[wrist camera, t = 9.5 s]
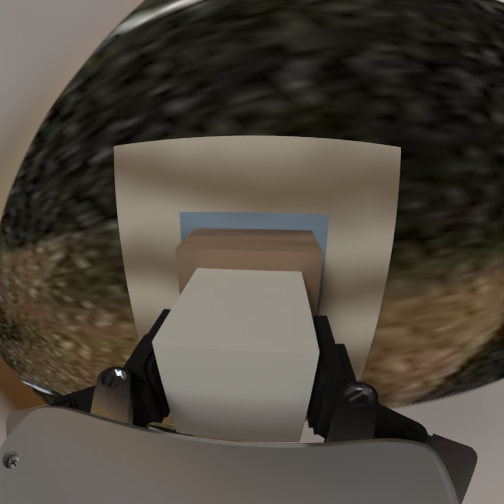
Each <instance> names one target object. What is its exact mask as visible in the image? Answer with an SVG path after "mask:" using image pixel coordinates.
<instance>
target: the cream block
mask: <svg viewBox="0 0 504 504" xmlns="http://www.w3.org/2000/svg"><path fill="white" fill-rule="evenodd" d="M152 344H153V348H154V353H155V357H156V361H157V365H158V369H159V373H160V377H161V380H162V384H163V388H164V391H165V395H166V398H167V402H168V405H169V408H170V412H171V415H172V418H173V421H174V424H175V427H176V430H177V432H178V433H183V434H190V435H196V436H204V437H212V438H220V439H231V440H244V441H262V442H263V441H264V442H299V441H300V438H301V434H302V430H303V426H304V422H305V418H306V414H307V409H308V405H309V401H310V396H311V392H312V387H313V382H314V378H315V373H316V368H317V363H318V357H319V347H318V343H317V338H316V333H315V328H314V324H313V319H312V315H311V310H310V306H309V301H308V297H307V293H306V288H305V284H304V280H303V276H302V272H295V271H261V270H232V269H206V268H197V269H196V271H195V272H194V274H193V275H192V277H191V279H190V280H189V282H188V283H187V285H186V287H185V288H184V290H183V291H182V293H181V295H180V296H179V298H178V300H177V301H176V303H175V304H174V306H173V308H172V309H171V311H170V313H169V314H168V316H167V317H166V319H165V321H164V322H163V324H162V326H161V327H160V329H159V331H158V332H157V334H156V336H155V337H154V339H153V341H152Z"/></svg>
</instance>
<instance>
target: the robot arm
mask: <svg viewBox="0 0 504 504" xmlns="http://www.w3.org/2000/svg"><path fill="white" fill-rule="evenodd" d="M170 311H171V309H164V310H163V311H162V312H161V314H160V316H159V317H158V319H157V320H156V322H155V323H154V325H153V326H152V328H151V329H150V331H149V332H148V334H145V335H144V336H143V338H142V339H141V341H140V342H139V344H138V345H137V347H136V348H135V350H134V352H133V353H132V355H131V356H130V358H129V359H128V361H127V363H126V364H125V366H124V367H123V368H122V367H110V368H107V369H105V370H103V371H102V372H101V373H100V374H99V375H98V378H97V381H96V385H95V386H92V387H89V388H86V389H83V390H80V391H76V392H73V393H70V394H67V395H64V396H61V397H59V398H57V399H55V400H54V401H53V403H52V404H51V406H48V405H43V406H39V407H34V408H30V409H25V410H21V411H16V412H13V413H11V414H10V415H9V416H8V418H7V422H6V430H7V439H6V440H5V441H4V443H3V444H2V446H1V448H0V504H462V501H463V499H464V496H465V494H466V491H467V489H468V486H469V484H470V481H471V478H472V475H473V472H474V469H475V466H476V463H477V454H476V452H475V451H474V449H473V448H471V447H469V446H466V445H463V444H460V443H457V442H455V441H452V440H449V439H446V438H443V437H441V436H438V435H436V434H433V436H430V435H428V433H427V431H426V429H425V428H424V427H423V425H421V424H420V423H418V422H416V421H414V420H412V419H410V418H408V417H405V416H403V415H401V414H399V413H397V412H395V411H393V410H391V409H389V408H387V407H385V406H383V405H381V404H379V403H378V393H377V392H376V390H375V389H374V388H373V387H372V386H370V385H368V384H366V383H362V382H357V381H356V377H355V374H354V371H353V368H352V365H351V362H350V359H349V356H348V353H347V350H346V347H345V344H343V343H342V344H335V340H334V337H333V334H332V330H331V327H330V324H329V320H328V317H327V315H314V318H313V324H314V328H315V333H316V338H317V343H318V347H319V357H318V363H317V368H316V373H315V378H314V382H313V387H312V392H311V396H310V401H309V405H308V409H307V415H308V425H309V428H313V430H314V434H319V435H320V436H322V437H323V438H325V440H324V443H297V444H276V443H274V444H273V443H249V442H235V441H224V440H214V439H205V438H198V437H192V436H185V435H179V434H173V433H168V432H163V431H158V430H153V429H149V423H151V422H158V423H162V421H163V418H164V417H168V415H169V412H170V408H169V405H168V402H167V398H166V395H165V391H164V388H163V384H162V380H161V377H160V373H159V369H158V365H157V361H156V357H155V353H154V348H153V344H152V341H153V339H154V337H155V336H156V334H157V332H158V331H159V329H160V327H161V326H162V324H163V322H164V321H165V319H166V317H167V316H168V314H169V313H170Z"/></svg>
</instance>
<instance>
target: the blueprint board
mask: <svg viewBox="0 0 504 504" xmlns="http://www.w3.org/2000/svg"><path fill="white" fill-rule="evenodd" d="M400 156H401V147H394V146H388V145H381V144H373V143H365V142H357V141H347V140H337V139H324V138H309V137H288V136H219V137H198V138H183V139H171V140H160V141H151V142H142V143H134V144H127V145H120V146H114V169H115V188H116V201H117V213H118V222H119V231H120V240H121V247H122V254H123V261H124V267H125V273H126V279H127V285H128V290H129V296H130V301H131V306H132V310H133V315H134V320H135V324H136V328H137V332H138V337H139V341H141V339H142V338H143V336H144V335H145V334H148V332H149V331H150V329H151V328H152V326H153V325H154V323H155V322H156V320H157V319H158V317H159V316H160V314H161V312H162V311H163V310H164V309H172V308H173V306H174V304H175V303H176V301H177V300H178V298H179V296H180V292H179V283H178V274H177V263H176V252H175V248H176V247H177V246H178V245H179V244H180V243H181V242H182V241H183V240H184V239H185V238H186V237H187V236H188V235H189V234H190V233H191V232H192V231H193V230H194V229H195V228H229V229H279V230H312V232H313V234H314V236H315V238H316V240H317V242H318V244H319V245H320V247H321V249H322V251H323V258H322V269H321V278H320V288H319V297H318V305H317V313H316V315H327V317H328V320H329V324H330V327H331V330H332V334H333V337H334V340H335V344H342V343H343V344H345V347H346V350H347V353H348V356H349V359H350V362H351V365H352V368H353V371H354V374H355V377H356V381H358V380H361V377H362V374H363V371H364V368H365V364H366V361H367V358H368V354H369V351H370V347H371V344H372V340H373V336H374V333H375V329H376V325H377V321H378V317H379V313H380V308H381V304H382V299H383V295H384V290H385V285H386V280H387V274H388V269H389V263H390V257H391V251H392V244H393V237H394V230H395V222H396V213H397V203H398V191H399V177H400Z"/></svg>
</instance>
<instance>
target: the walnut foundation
mask: <svg viewBox="0 0 504 504" xmlns="http://www.w3.org/2000/svg"><path fill="white" fill-rule="evenodd" d="M175 252H176V263H177V274H178V283H179V292H180V295H181V293H182V291H183V290H184V288H185V287H186V285H187V283H188V282H189V280H190V279H191V277H192V275H193V274H194V272H195V271H196V269H197V268H206V269H232V270H261V271H295V272H302V276H303V280H304V284H305V288H306V293H307V297H308V301H309V306H310V310H311V315H312V319H313V318H314V315H316V313H317V305H318V297H319V288H320V278H321V269H322V258H323V251H322V249H321V247H320V245H319V244H318V242H317V240H316V238H315V236H314V234H313V232H312V230H279V229H229V228H195V229H194V230H193V231H192V232H191V233H190V234H189V235H188V236H187V237H186V238H185V239H184V240H183V241H182V242H181V243H180V244H179V245H178V246H177V247H176V248H175Z"/></svg>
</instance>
